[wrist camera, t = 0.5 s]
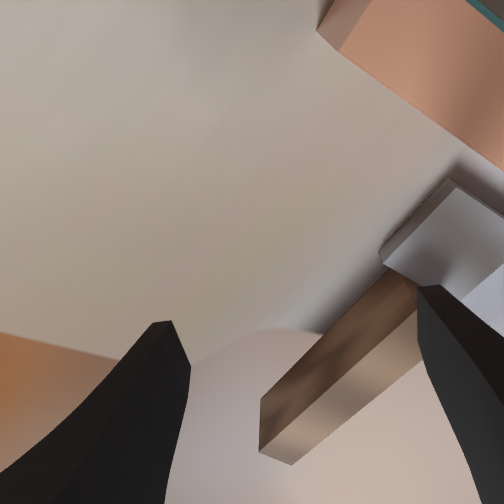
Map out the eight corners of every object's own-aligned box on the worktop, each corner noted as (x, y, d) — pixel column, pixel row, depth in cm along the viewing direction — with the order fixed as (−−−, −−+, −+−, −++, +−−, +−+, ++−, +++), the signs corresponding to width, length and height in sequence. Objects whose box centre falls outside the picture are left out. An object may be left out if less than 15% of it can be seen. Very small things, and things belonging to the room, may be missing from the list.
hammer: (304, 418, 30) (307, 471, 26) (245, 392, 29) (241, 445, 25) (519, 226, 21) (567, 271, 17) (447, 177, 20) (482, 215, 16)
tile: (492, 67, 17) (607, 107, 11) (443, 123, 18) (523, 185, 12) (359, -40, 15) (411, -60, 9) (316, 30, 16) (337, 51, 11)
